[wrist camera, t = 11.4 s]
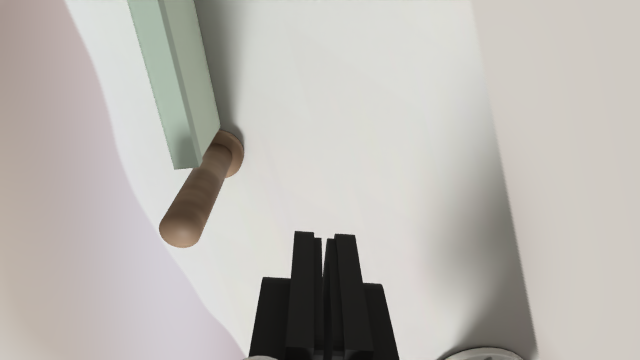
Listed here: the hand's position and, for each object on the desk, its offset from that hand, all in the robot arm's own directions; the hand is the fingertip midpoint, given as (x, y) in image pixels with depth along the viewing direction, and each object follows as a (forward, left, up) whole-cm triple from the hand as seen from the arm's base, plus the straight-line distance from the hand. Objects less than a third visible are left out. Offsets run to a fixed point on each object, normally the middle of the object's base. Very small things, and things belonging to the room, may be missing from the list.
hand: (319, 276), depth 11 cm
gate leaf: (+4, +9, -23) cm, 25 cm away
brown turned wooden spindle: (-6, +8, -23) cm, 25 cm away
